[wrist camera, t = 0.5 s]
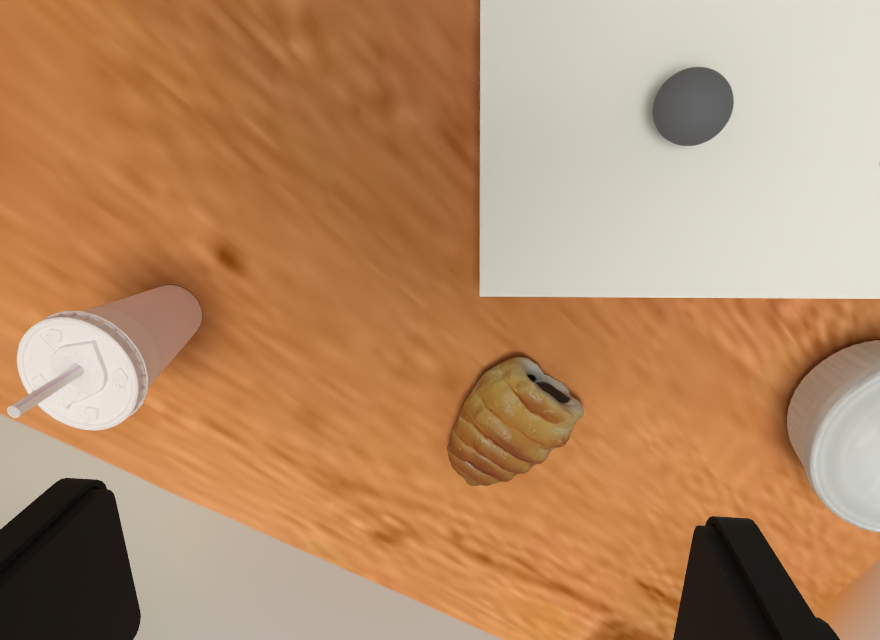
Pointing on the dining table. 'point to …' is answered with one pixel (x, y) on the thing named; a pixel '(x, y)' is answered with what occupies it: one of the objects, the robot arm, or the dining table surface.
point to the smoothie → (103, 356)
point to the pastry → (511, 423)
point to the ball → (693, 106)
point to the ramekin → (841, 432)
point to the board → (679, 150)
